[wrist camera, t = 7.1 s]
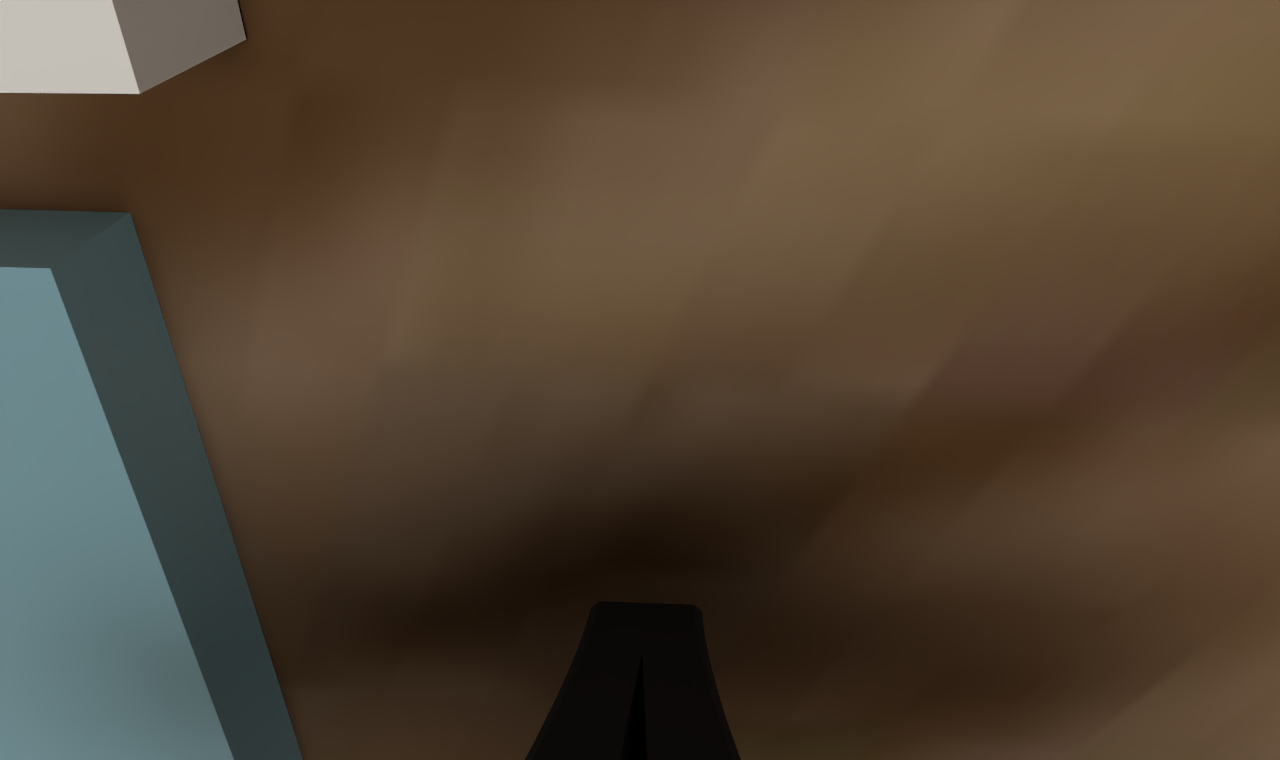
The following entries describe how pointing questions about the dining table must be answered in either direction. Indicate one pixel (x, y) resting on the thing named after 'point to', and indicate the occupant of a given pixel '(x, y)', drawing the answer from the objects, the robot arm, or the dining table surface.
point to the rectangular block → (113, 522)
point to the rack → (109, 42)
